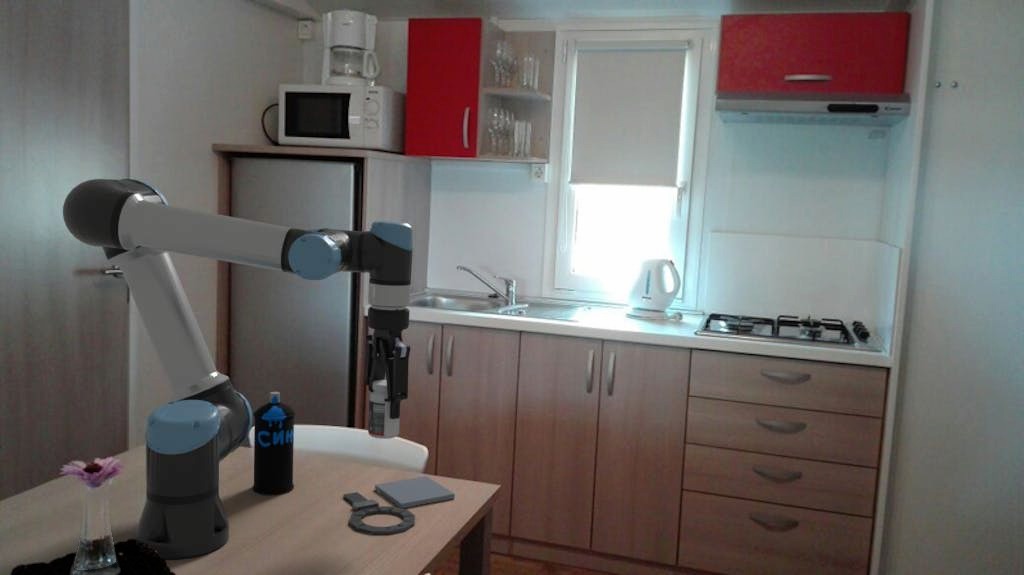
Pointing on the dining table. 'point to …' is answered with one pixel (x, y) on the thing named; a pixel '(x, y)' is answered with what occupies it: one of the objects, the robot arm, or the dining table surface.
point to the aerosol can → (273, 447)
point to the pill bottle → (378, 410)
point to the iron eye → (372, 507)
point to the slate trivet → (414, 491)
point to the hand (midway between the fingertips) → (383, 430)
